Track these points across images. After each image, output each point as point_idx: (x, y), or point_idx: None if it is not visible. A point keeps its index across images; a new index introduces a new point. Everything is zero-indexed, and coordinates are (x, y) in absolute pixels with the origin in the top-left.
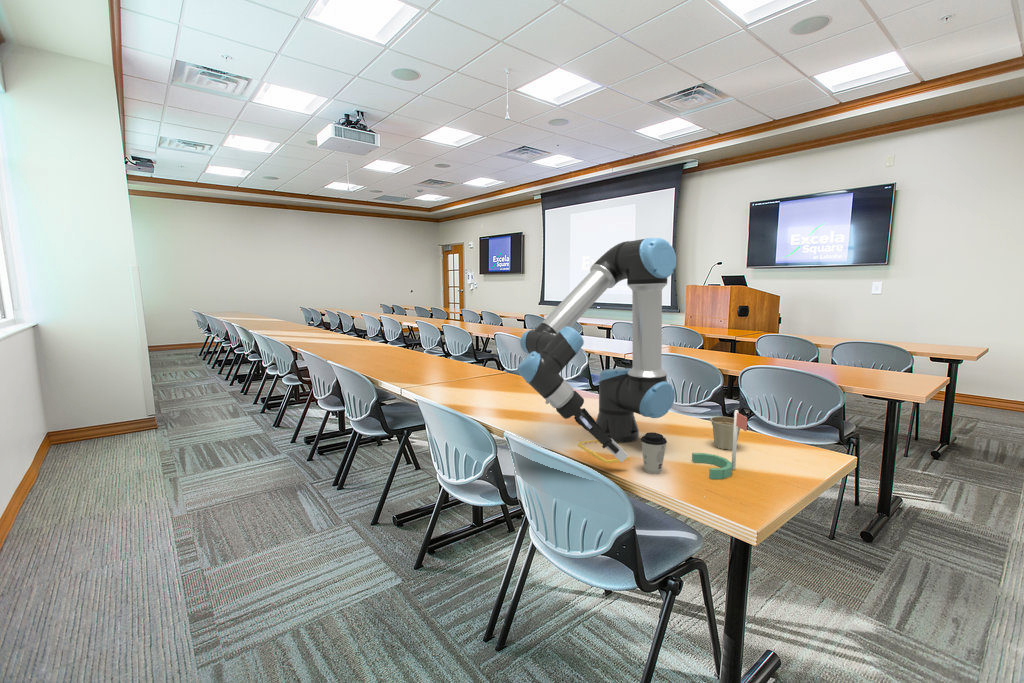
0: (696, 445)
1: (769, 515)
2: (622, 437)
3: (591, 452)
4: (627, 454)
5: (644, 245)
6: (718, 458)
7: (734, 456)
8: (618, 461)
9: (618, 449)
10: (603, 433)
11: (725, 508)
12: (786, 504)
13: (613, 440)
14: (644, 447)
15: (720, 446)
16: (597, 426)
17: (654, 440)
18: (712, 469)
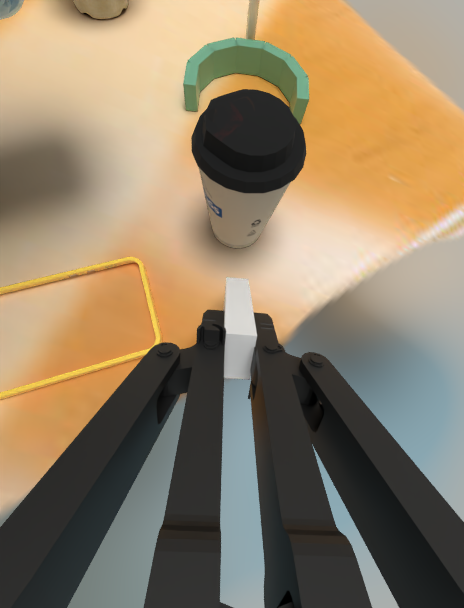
0: (72, 49)
1: (460, 115)
2: None
3: (51, 383)
4: (240, 279)
5: None
6: (226, 50)
7: (257, 14)
8: (153, 302)
9: (270, 317)
10: (389, 436)
11: (445, 168)
12: (411, 69)
13: (233, 324)
14: (261, 203)
15: (113, 8)
16: (324, 489)
17: (292, 144)
18: (305, 95)
